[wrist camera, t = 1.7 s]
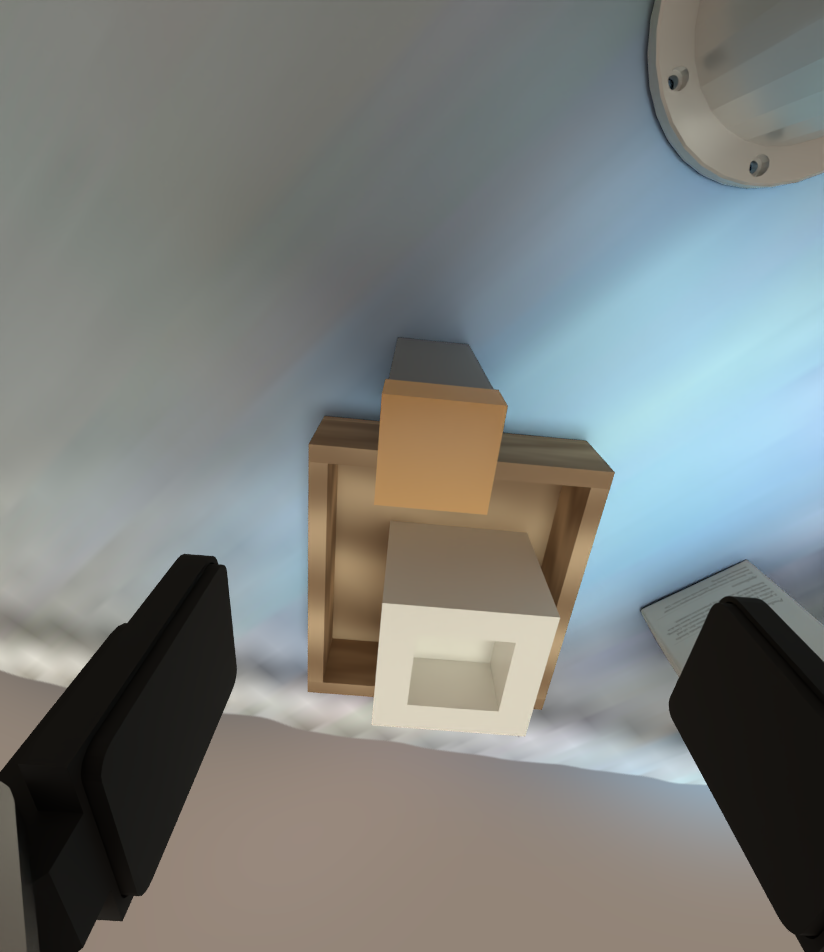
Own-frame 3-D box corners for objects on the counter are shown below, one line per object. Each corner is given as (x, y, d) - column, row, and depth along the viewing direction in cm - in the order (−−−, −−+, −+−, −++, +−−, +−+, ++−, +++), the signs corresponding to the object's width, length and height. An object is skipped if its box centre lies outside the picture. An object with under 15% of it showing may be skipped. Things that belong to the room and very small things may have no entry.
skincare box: (667, 660, 37) (822, 914, 23) (634, 604, 35) (785, 847, 20) (778, 614, 35) (1024, 862, 21) (751, 551, 32) (1007, 781, 18)
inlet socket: (390, 520, 31) (382, 603, 24) (527, 532, 31) (560, 617, 24) (380, 626, 35) (371, 725, 28) (502, 636, 35) (524, 736, 28)
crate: (324, 416, 29) (308, 444, 24) (586, 440, 29) (614, 472, 25) (320, 641, 36) (307, 691, 32) (527, 657, 37) (541, 709, 33)
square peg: (396, 335, 27) (381, 393, 16) (470, 342, 27) (507, 406, 16) (390, 407, 28) (373, 504, 18) (460, 414, 28) (487, 514, 18)
